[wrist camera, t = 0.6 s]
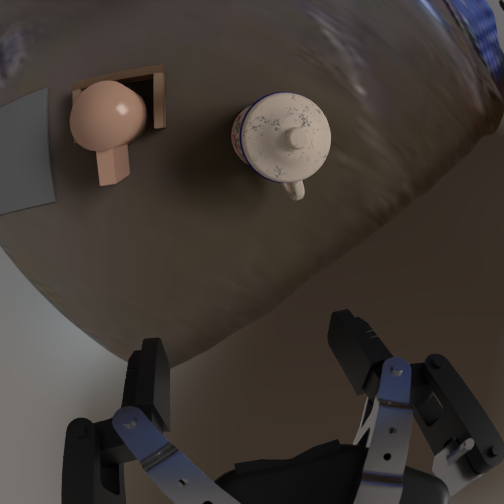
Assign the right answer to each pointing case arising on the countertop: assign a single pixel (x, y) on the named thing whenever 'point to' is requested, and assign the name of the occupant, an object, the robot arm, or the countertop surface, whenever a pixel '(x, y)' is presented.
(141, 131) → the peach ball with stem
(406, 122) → the countertop surface
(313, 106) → the teacup with lid
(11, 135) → the charcoal mat
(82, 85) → the walnut holder
